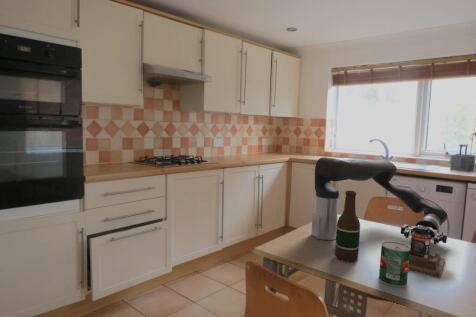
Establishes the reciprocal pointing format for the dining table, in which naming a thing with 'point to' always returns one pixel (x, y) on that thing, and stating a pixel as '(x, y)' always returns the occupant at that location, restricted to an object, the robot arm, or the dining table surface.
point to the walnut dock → (427, 264)
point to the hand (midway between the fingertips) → (420, 238)
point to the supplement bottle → (420, 242)
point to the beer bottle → (348, 231)
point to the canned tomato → (394, 264)
